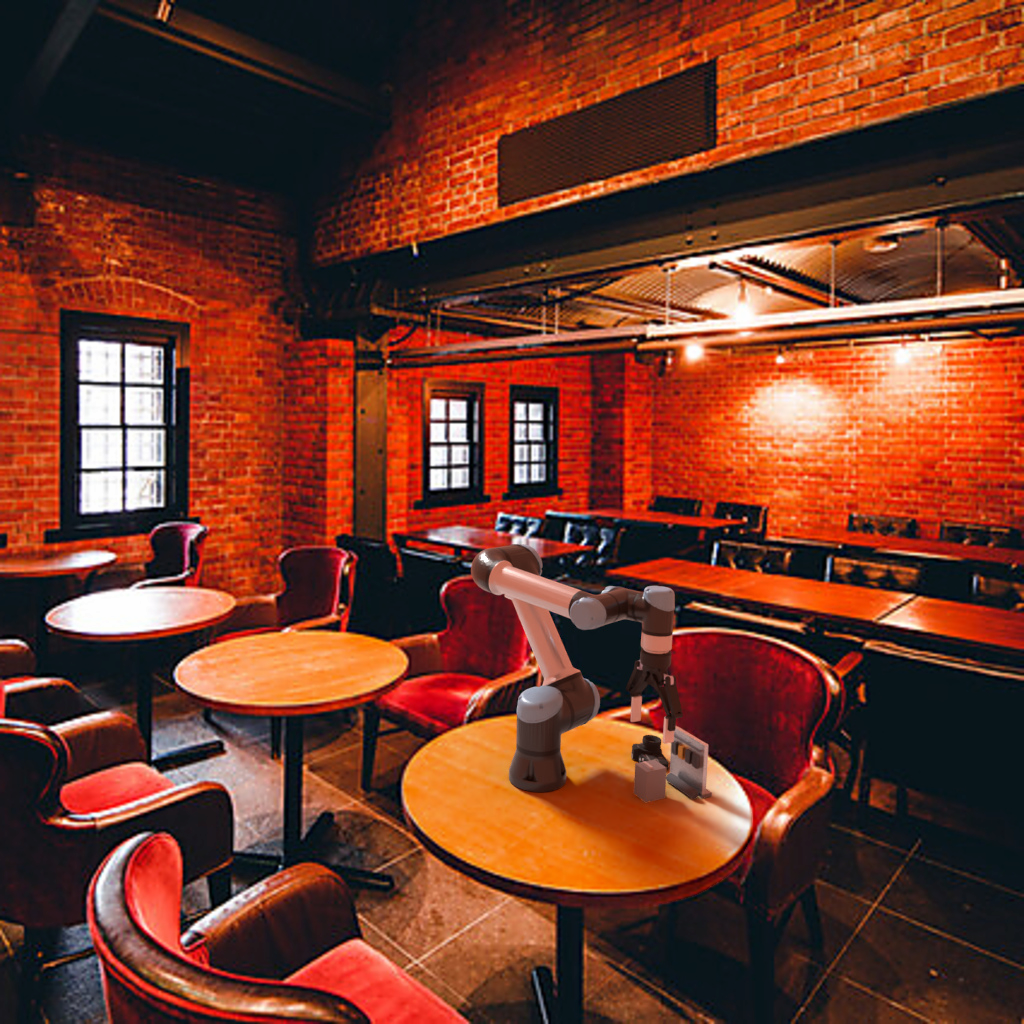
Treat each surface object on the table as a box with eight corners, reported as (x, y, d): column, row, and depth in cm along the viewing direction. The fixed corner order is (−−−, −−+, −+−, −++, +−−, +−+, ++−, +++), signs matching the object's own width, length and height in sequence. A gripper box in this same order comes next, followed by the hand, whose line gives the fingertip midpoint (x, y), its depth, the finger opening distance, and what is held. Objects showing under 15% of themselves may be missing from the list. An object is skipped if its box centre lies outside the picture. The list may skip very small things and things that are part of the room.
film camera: (674, 753, 198) (639, 741, 199) (666, 779, 198) (630, 767, 199) (668, 735, 211) (635, 724, 212) (660, 760, 212) (627, 749, 212)
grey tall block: (645, 802, 182) (647, 769, 181) (633, 793, 186) (635, 761, 185) (668, 797, 185) (669, 764, 184) (656, 788, 189) (657, 756, 188)
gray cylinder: (698, 798, 185) (698, 789, 184) (690, 800, 184) (691, 791, 183) (673, 780, 194) (673, 772, 193) (665, 782, 193) (666, 773, 192)
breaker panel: (698, 799, 184) (701, 746, 182) (666, 776, 196) (669, 726, 194) (711, 796, 186) (714, 743, 184) (679, 774, 197) (681, 724, 196)
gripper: (701, 663, 172) (695, 749, 174) (639, 634, 194) (634, 710, 196) (675, 666, 168) (670, 754, 171) (615, 636, 191) (611, 714, 193)
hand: (651, 731), depth 184 cm, fingers open, 13 cm apart
